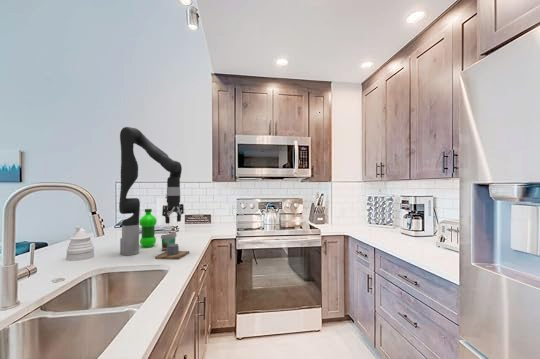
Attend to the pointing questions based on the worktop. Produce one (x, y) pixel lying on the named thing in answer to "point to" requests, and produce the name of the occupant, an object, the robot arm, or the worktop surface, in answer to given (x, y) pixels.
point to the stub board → (177, 256)
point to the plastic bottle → (148, 229)
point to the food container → (168, 240)
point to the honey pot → (80, 246)
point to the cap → (172, 249)
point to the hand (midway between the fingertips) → (173, 222)
